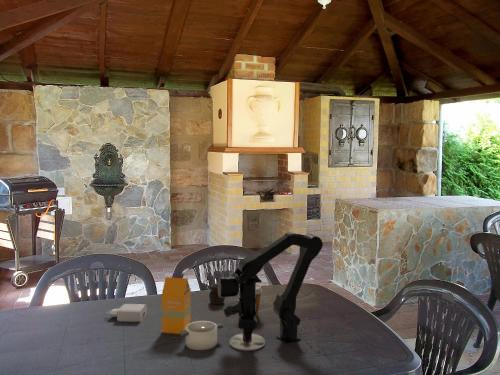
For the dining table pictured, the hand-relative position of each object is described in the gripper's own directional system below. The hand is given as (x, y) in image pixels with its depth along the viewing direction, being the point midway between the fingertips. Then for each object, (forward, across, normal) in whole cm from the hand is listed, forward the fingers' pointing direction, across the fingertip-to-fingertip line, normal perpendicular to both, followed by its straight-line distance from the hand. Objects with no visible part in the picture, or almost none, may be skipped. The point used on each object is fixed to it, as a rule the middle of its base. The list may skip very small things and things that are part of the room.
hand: (247, 338), depth 161 cm
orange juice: (+2, -12, -27) cm, 29 cm away
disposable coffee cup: (+2, -27, +2) cm, 28 cm away
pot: (+2, 0, -16) cm, 16 cm away
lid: (+2, 0, 0) cm, 2 cm away
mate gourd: (+2, -42, -13) cm, 44 cm away
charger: (+2, -24, -49) cm, 55 cm away
